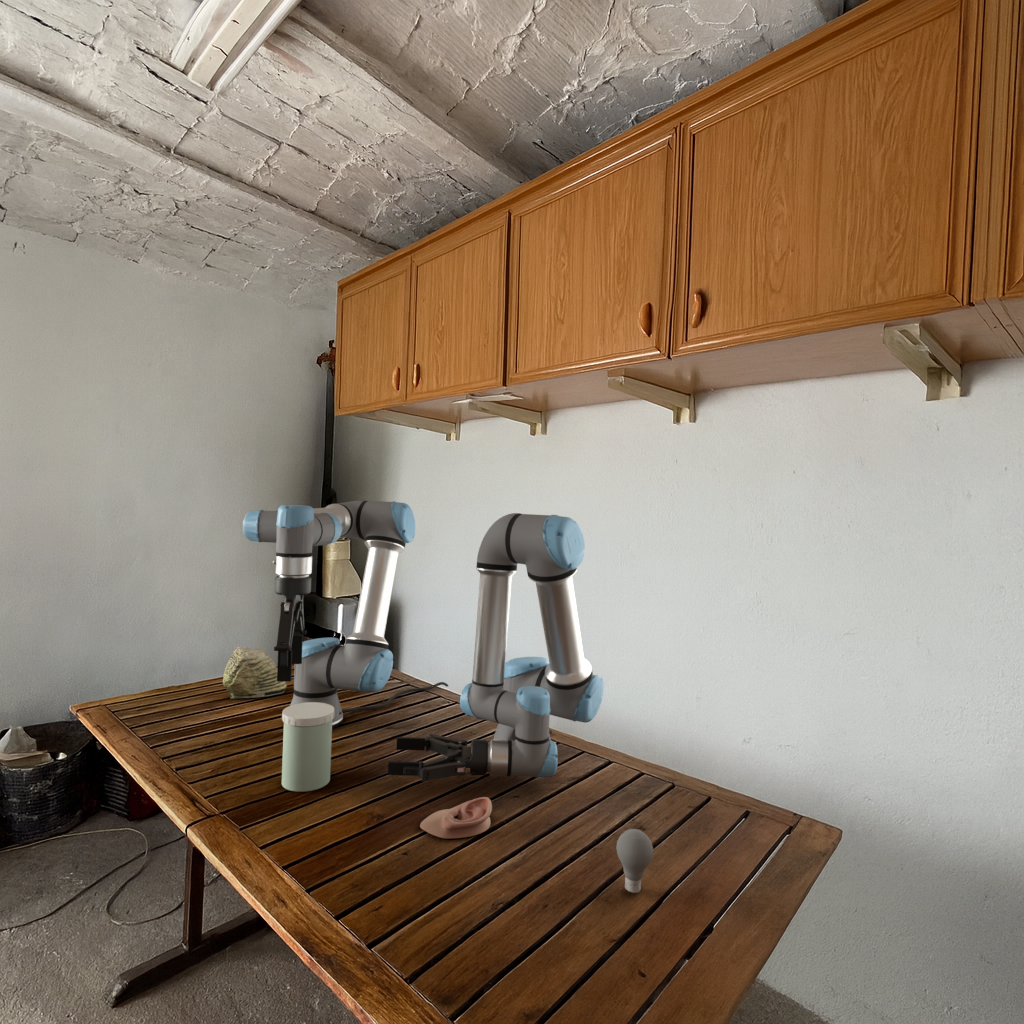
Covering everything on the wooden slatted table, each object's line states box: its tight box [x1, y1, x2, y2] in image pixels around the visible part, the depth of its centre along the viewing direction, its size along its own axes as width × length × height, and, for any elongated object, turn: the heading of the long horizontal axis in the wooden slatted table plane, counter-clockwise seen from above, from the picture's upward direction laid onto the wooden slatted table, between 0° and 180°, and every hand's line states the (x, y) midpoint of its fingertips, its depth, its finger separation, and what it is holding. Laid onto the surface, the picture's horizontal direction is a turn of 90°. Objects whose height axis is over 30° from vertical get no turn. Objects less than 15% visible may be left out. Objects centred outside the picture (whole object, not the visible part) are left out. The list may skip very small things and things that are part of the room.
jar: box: [281, 720, 333, 793], centre depth 141 cm, size 10×10×15 cm
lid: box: [281, 702, 335, 727], centre depth 140 cm, size 11×11×2 cm
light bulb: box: [615, 828, 654, 894], centre depth 106 cm, size 6×6×10 cm
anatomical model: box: [419, 796, 493, 840], centre depth 124 cm, size 13×4×12 cm
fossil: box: [222, 646, 288, 699], centre depth 198 cm, size 9×18×15 cm, turn 132°
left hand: (290, 672), depth 139 cm, fingers open, 13 cm apart
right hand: (392, 755), depth 141 cm, fingers open, 13 cm apart
